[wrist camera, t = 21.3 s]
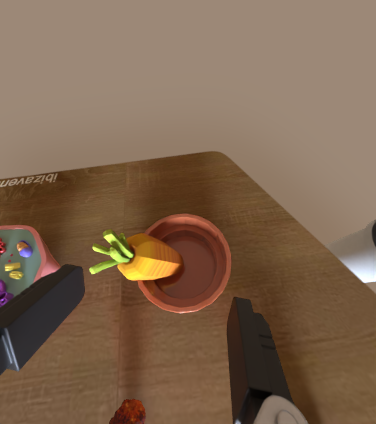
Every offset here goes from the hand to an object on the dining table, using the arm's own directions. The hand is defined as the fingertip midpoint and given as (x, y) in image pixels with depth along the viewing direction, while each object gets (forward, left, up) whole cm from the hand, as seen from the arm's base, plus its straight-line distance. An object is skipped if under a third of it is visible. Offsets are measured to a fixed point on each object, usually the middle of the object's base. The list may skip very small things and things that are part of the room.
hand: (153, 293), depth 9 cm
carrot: (-1, -5, -18) cm, 19 cm away
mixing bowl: (-1, -4, -19) cm, 20 cm away
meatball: (+7, +12, -19) cm, 24 cm away
